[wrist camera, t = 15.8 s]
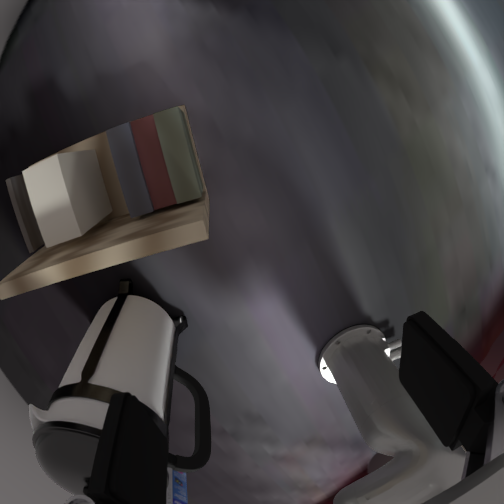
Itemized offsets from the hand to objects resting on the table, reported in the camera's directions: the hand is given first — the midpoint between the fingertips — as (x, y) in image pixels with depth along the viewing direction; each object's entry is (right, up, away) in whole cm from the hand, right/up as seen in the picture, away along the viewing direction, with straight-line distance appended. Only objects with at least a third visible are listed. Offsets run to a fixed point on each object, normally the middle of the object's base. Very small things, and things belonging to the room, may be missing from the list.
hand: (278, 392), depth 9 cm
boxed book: (-21, +13, +23) cm, 34 cm away
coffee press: (-16, -6, +33) cm, 37 cm away
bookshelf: (-18, +14, +25) cm, 34 cm away
